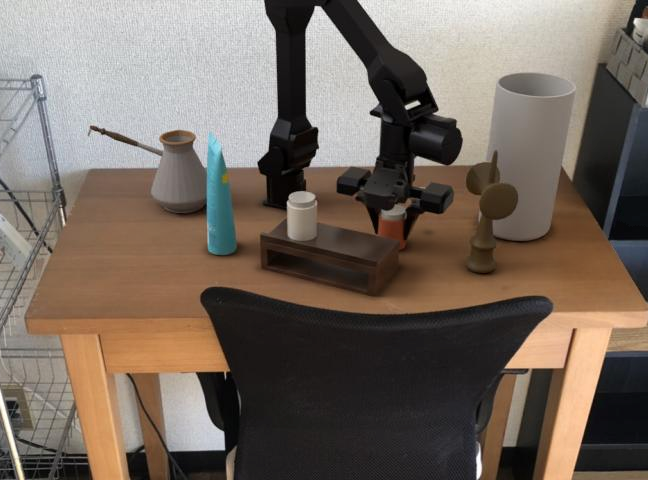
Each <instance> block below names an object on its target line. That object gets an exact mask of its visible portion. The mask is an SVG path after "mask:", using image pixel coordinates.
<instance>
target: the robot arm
mask: <svg viewBox="0 0 648 480" xmlns="http://www.w3.org/2000/svg"><path fill="white" fill-rule="evenodd" d="M263 4H264V10H265V15H266V17H267V18H268V20H269V22H270V24H271V25H272V27H273V29H274V32H275V64H276V65H275V66H276V67H275V68H276V101H277V104H276V105H277V106H276V107H277V117H276V120H275V122H274V124H273V126H272V128H271V131H270V132H269V140H268V149H267V152H265V153H264V154H263V156H262V157H261V158H259V159H258V160H257V162H256V164H257V169H258V171H259V174H260V175H262V176H265V183H266V187H265V188H266V198H265V199H264V200H263V201H262V205H263V206H267V207H272V208H275V209H281V210H286V211H287V201H288V200H289V195H290V194H292V193H294V192H299V191H305V192H307V178H305V170H304V169H306V168H309V167H310V166H311V164H312V160H313V159H314V158H315V157H316V155H317V150H319V149H320V145H319V140H318V139H319V132H320V131H319V127H318V126H313V125H312V124H311V122H310V120H309V118H308V117H307V44H306V43H307V41H306V40H307V35H306V33H307V28H308V27H309V24H310V22H311V19H312V17H313V15H314V13H315V9H316V7H320V8H321V9H322V11H323V12H324V13H325V14H326V16H327V17H328V18H329V20H330V21H331V23H332V24H333V26H334V27H335V28H336V30H337V31H338V32H339V34H340V35H341V36H342V37H343V39H344V40H345V41H346V42H347V44H348V46H349V47H350V49H352V51H353V52H354V54H355V55H356V56H357V57H358V59H359V61H361V63H362V64H363V66H364V68H365V70H366V74H367V82H368V85H369V87H370V89H371V91H372V93H373V94H374V96H375V98H376V100H377V102H378V104H377V105H376V106H375V107H373V108H372V109H370V110H369V115H370V116H372V117H375V118H378V119H380V128H379V130H380V131H379V147H378V156H376V157H375V163H374V168H373V170H372V172H371V170H370V169H367V168H362V167H357V166H352V165H351V166H350V167H348V169H346V170H345V171H344V172H343V173H342V174H341V175H339V177H337V180H336V184H335V186H336V190H335V191H336V193H337V194H339V195H344V196H348V197H354V196H355V195H356V196H355V197H354V200H355V201H356V202H359V203H361V204H362V205H363V206H364V207H365V209H366V211H367V213H368V216H369V218H370V222H371V224H372V227H373V230H374V233H375V235H377V236H378V220H379V213H380V212H381V209H382V210H385V211H389V210H392V209H393V208H394V206H395V205H399V204H403V205H405V204H406V203H407V202H408V199H410V204H409V205H408V206H406V207H405V211H406V214H407V216H406V222H405V228H404V241H406V242H407V240H408V239H409V237H410V236H411V233H412V231H413V230H414V227H415V225H416V222H417V221H418V219H419V217H420V215H424V214H425V213H430V214H435V215H443V214H445V212H446V211H447V210H448V209H449V208H450V206H451V205H452V204H453V203H454V198H455V197H454V196H455V191H454V188H453V187H452V185H449V184H444V183H440V182H439V183H438V182H433V181H431V182H429V184H428V185H427V186H426V187H424V186H413V183H414V182H415V181H416V174H415V173H414V170H415V159H416V158H417V157H418V158H421V159H425V160H428V161H431V162H434V163H437V164H440V165H443V166H446V167H447V166H451V165H452V164H454V163H455V162H456V160H457V159H458V157H459V155H460V153H461V151H462V149H463V148H462V147H463V143H464V137H463V136H462V134H463V133H462V131H461V129H460V128H458V127H457V125H458V120H457V119H456V118H453V117H445V116H441V115H438V114H435V113H438V112H439V111H440V110H439V106H438V104H437V101H436V98H435V97H434V95H433V93H432V91H431V90H432V89H431V88H430V86H429V83H428V77H427V74H426V72H425V71H424V68H423V67H422V66H420V65H419V64H418V63H417V62H416V60H414V59H413V58H412V57H411V56H410V55H409V54H407V53H405V52H404V51H402V50H400V49H398V48H396V47H394V46H393V45H392V44H391V43H390V42H389V40H388V39H387V38H386V36H385V35H384V34H383V32H382V31H381V30H380V28H379V27H378V26H377V24H376V23H375V22H374V20H373V19H372V18H371V16H370V15H369V14H368V12H367V11H366V10H365V8H364V7H363V6H362V4H361V3H360V2H359V0H263ZM416 102H418V103H419V104H417V105H415V106H412V107H410V108H408V109H407V107H406V106H408V105H409V106H410V105H411V104H413V103H416Z"/></svg>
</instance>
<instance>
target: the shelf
mask: <svg viewBox="0 0 648 480" xmlns="http://www.w3.org/2000/svg"><path fill="white" fill-rule="evenodd" d="M259 240H260V241H259V243H260V245H259V246H260V269H263V270H267V271H270V272H275V273H278V274H281V275H282V274H283V275H287V276H291V277H295V278H299V279H303V280H306V281H311V282H313V283H318V284H322V285H327V286H331V287H333V288H338V289H343V290H347V291H350V292H355V293H360V294H363V295H367V296H371V297H376V296H377V294H378V293H379V292H380V291H381V290H382V289H383V287H384V286H385V285H386V283H387V282H388V281H389V280H390V278H391V277H392V276H393V275H394V273H395V272H397V270H398V269H399V260H400V250H399V246H400V241H399V240H395V239H390V238H386V237H381V236H378V235H377V234H371V233H367V232H363V231H359V230H354V229H349V228H345V227H342V226H341V227H340V226H336V225H331V224H326V223H322V222H318V221H317V236H316V237H315V238H314V239H311V240H308V241H298V240H294V239H291V238H289V237H288V234H287V217H286V218H285V219H283V220H282V221H281V222H280V223H279V224H278V225H276V226H275V227H274V228H273V229H272V230H271V231H270V232H268V233H267V232H264V231H262V232H260V234H259Z"/></svg>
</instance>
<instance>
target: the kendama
mask: <svg viewBox="0 0 648 480" xmlns="http://www.w3.org/2000/svg"><path fill="white" fill-rule="evenodd" d="M497 159H498V152H497V150H495V151H494V153H493V157H492V162H491V163H489V162H486V161H482V162H479V163H475V164H474V165H473V166H471V167H470V169H469V170H467V171H468V172H467V174H466V177H465V184H466V185H465V187H466V189H467V191H468V192H469V193H471V194H472V195H475V196H480V197H479V201H478V206H479V207H478V208H479V209H478V210H479V212H481V213H482V214H481V218H480V221H479V220H478V225H477V228H476V230H475V233H474V235H473V236H471V237H470V239H469V244H470V246H471V247H470V253H469V255H468V256H467V257H466V258H465V260H464V265H465V267H466V268H467V270H469V271H471V272H474V273H478V274H486V273H491V272H492V271H494V270H495V269H496V268H497V264H496V261H495V259H494V250H495V249H496V247H497V246H498V241H497V239H495V236H493V220H500V219H504V218H506V217H508V216H510V215H511V214H512V213H513V211H514V210H515V209H516V206H517V203H518V193H517V191H516V188H515V187H514V186H512V185H510V184H508V183H499V182H500V171H499V169H498V167H497Z"/></svg>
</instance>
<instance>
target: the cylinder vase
mask: <svg viewBox="0 0 648 480" xmlns="http://www.w3.org/2000/svg"><path fill="white" fill-rule="evenodd" d="M494 89H495V90H494V97H493V105H492V113H491V120H490V128H489V129H490V130H489V135H488V142H487V151H486V159H485V162H489V163H491V162H492V157H493V153H494V151H495V150H497V152H498V159H497V167H498V169H499V171H500V182H499V183H508V184H510V185H512V186H514V187H515V188H516V191H517V193H518V203H517V206H516V209H515V210H514V211H513V213H512V214H511V215H510V216H508V217H506V218H504V219H500V220H493V236H494V238H497V239H502V240H506V241H513V242H526V241H533V240H536V239H540V238H542V237H543V236H545V235H546V234H547V233H548V232H549V230H550V229H551V224H552V218H553V213H554V207H555V202H556V198H557V193H558V188H559V187H558V186H559V180H560V175H561V170H562V165H563V160H564V156H565V155H564V154H565V149H566V143H567V138H568V133H569V129H570V122H571V117H572V112H573V106H574V101H575V95H576V91H577V86H576V84H575V83H574V82H573V81H571V80H570V79H568V78H565V77H562V76H558V75H555V74H551V73H546V72H534V71H533V72H532V71H523V72H520V71H519V72H512V73H508V74H504V75H501V76H500V77H498V78H497V79H496V82H495V88H494ZM481 214H482V213H481V212H480V211H479V213H478V222H479V221H480V218H481Z"/></svg>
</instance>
